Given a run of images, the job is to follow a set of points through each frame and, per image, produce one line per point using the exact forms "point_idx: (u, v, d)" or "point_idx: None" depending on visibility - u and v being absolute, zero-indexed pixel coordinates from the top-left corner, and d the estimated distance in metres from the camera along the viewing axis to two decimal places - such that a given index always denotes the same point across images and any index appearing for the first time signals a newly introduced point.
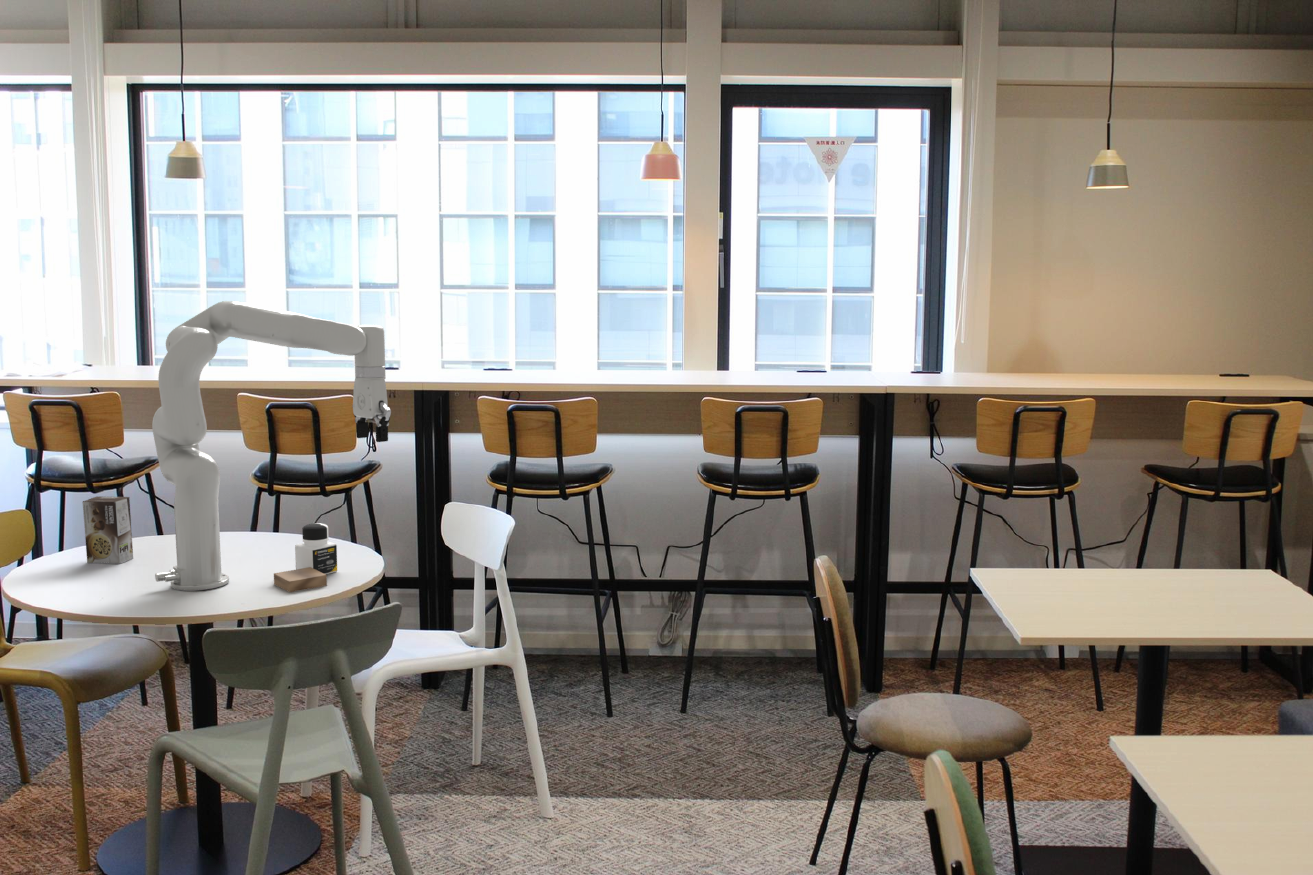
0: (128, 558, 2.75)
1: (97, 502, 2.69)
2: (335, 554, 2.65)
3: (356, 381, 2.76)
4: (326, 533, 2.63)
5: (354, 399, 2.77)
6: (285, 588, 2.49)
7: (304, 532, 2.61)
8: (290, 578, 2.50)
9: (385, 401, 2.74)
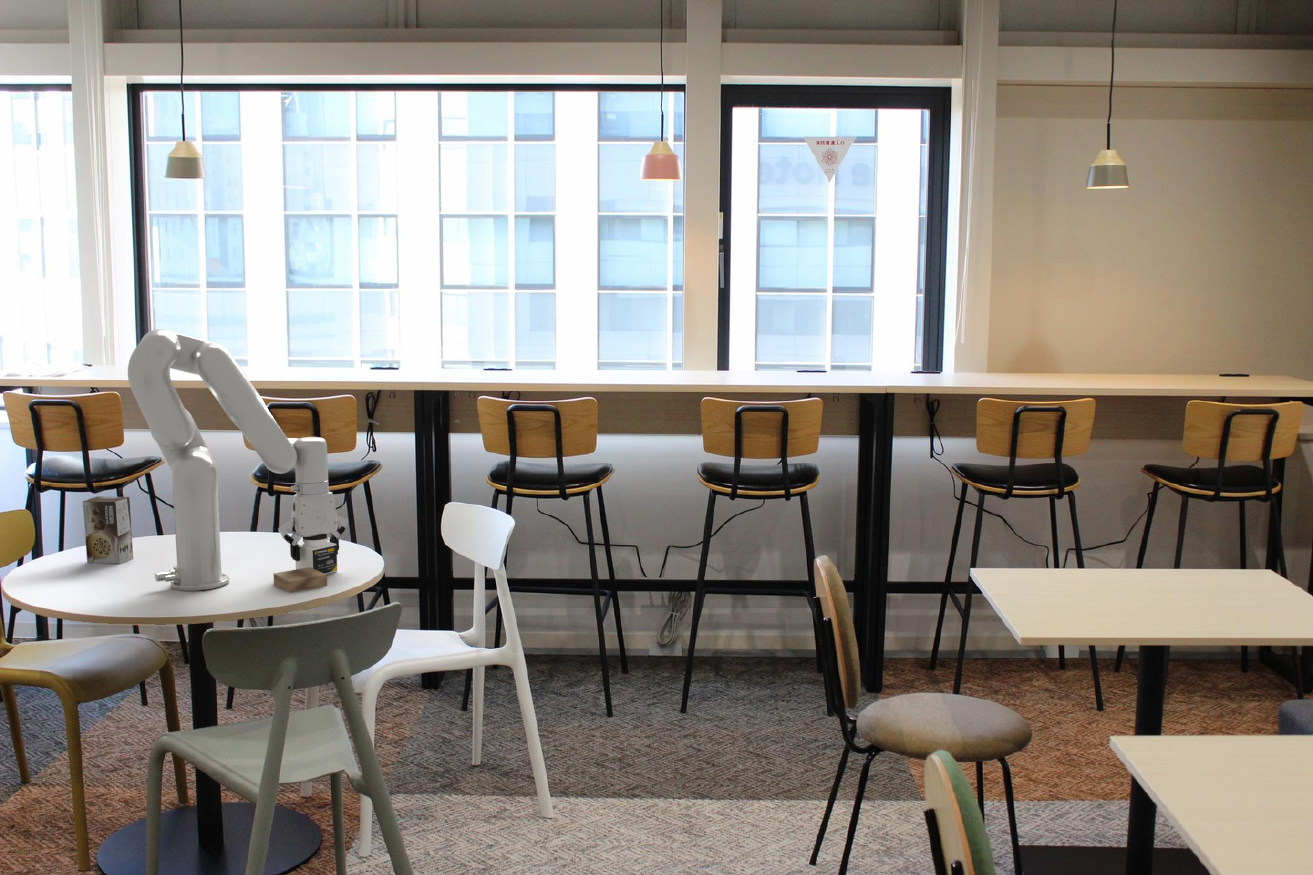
0: (128, 558, 2.75)
1: (97, 502, 2.69)
2: (335, 554, 2.65)
3: (307, 499, 2.58)
4: None
5: (304, 519, 2.58)
6: (285, 588, 2.49)
7: None
8: (290, 578, 2.50)
9: None
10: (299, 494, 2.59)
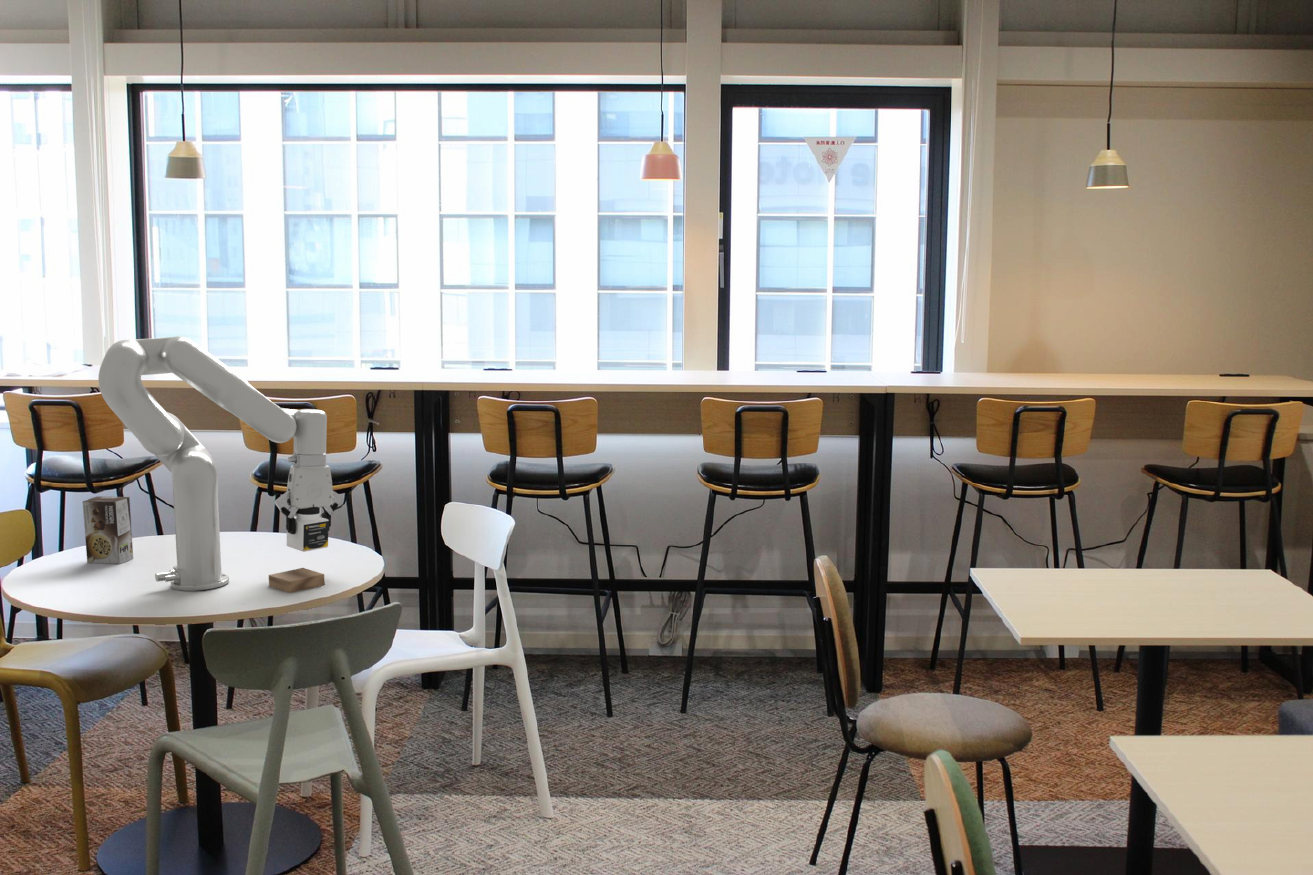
0: (128, 558, 2.75)
1: (97, 502, 2.69)
2: (327, 530, 2.63)
3: (303, 471, 2.57)
4: (319, 508, 2.61)
5: (300, 490, 2.57)
6: (284, 589, 2.49)
7: None
8: (289, 578, 2.49)
9: None
10: (296, 465, 2.58)
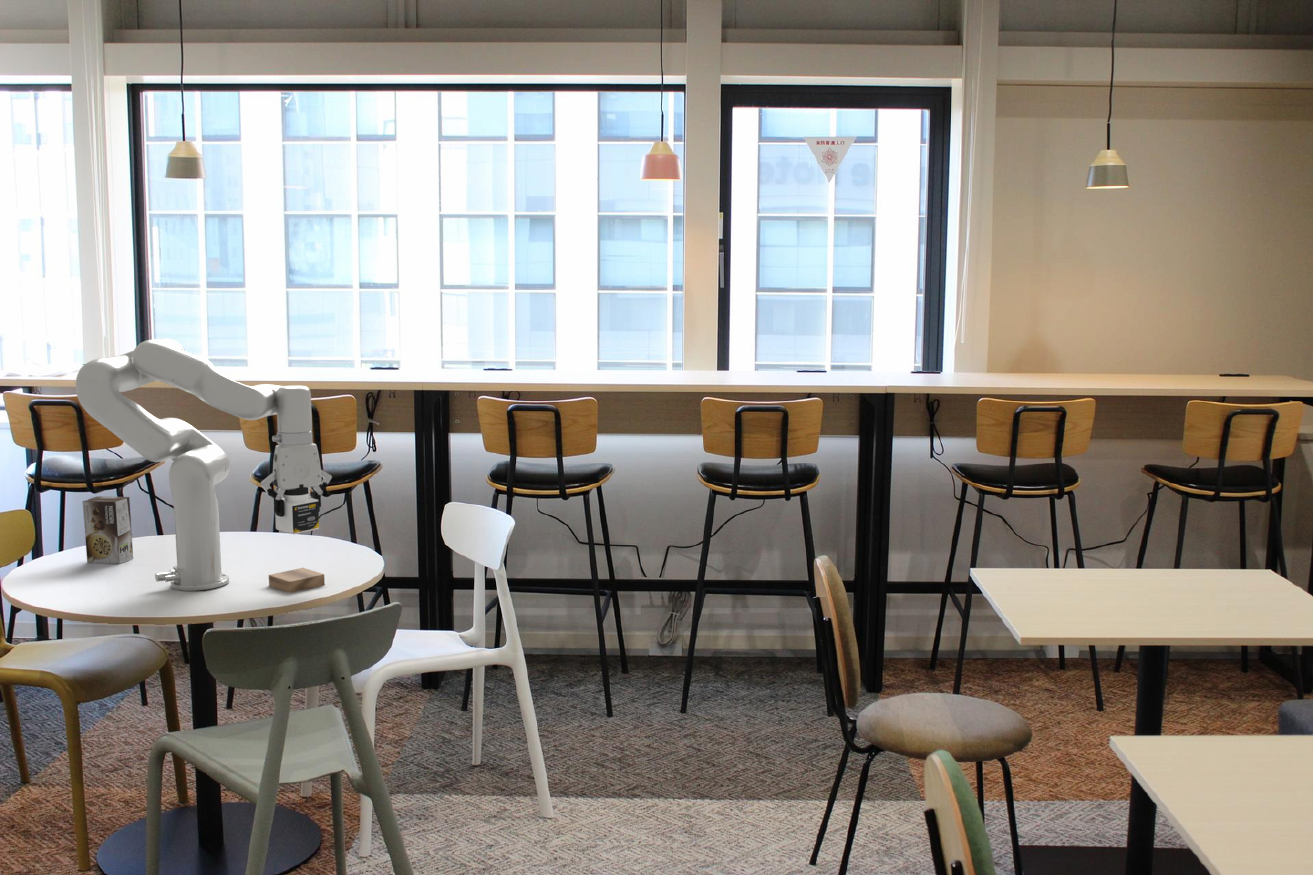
0: (128, 558, 2.75)
1: (97, 502, 2.69)
2: (317, 510, 2.52)
3: (289, 450, 2.46)
4: (307, 488, 2.50)
5: (286, 471, 2.46)
6: (284, 589, 2.49)
7: None
8: (289, 578, 2.49)
9: None
10: (281, 445, 2.46)
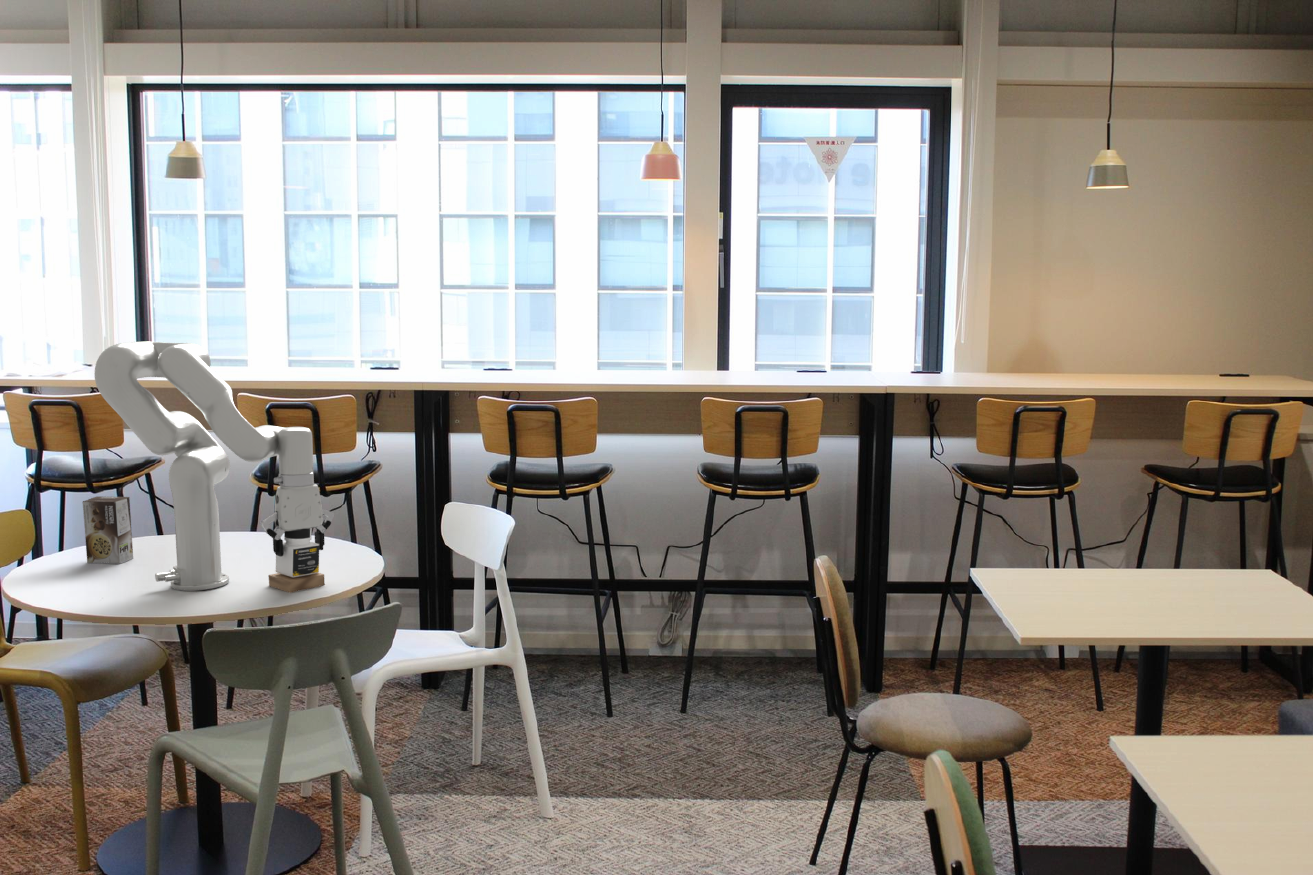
0: (128, 558, 2.75)
1: (97, 502, 2.69)
2: (317, 555, 2.53)
3: (290, 492, 2.47)
4: (309, 532, 2.52)
5: (288, 512, 2.47)
6: (284, 589, 2.49)
7: None
8: (289, 579, 2.49)
9: None
10: (283, 486, 2.48)
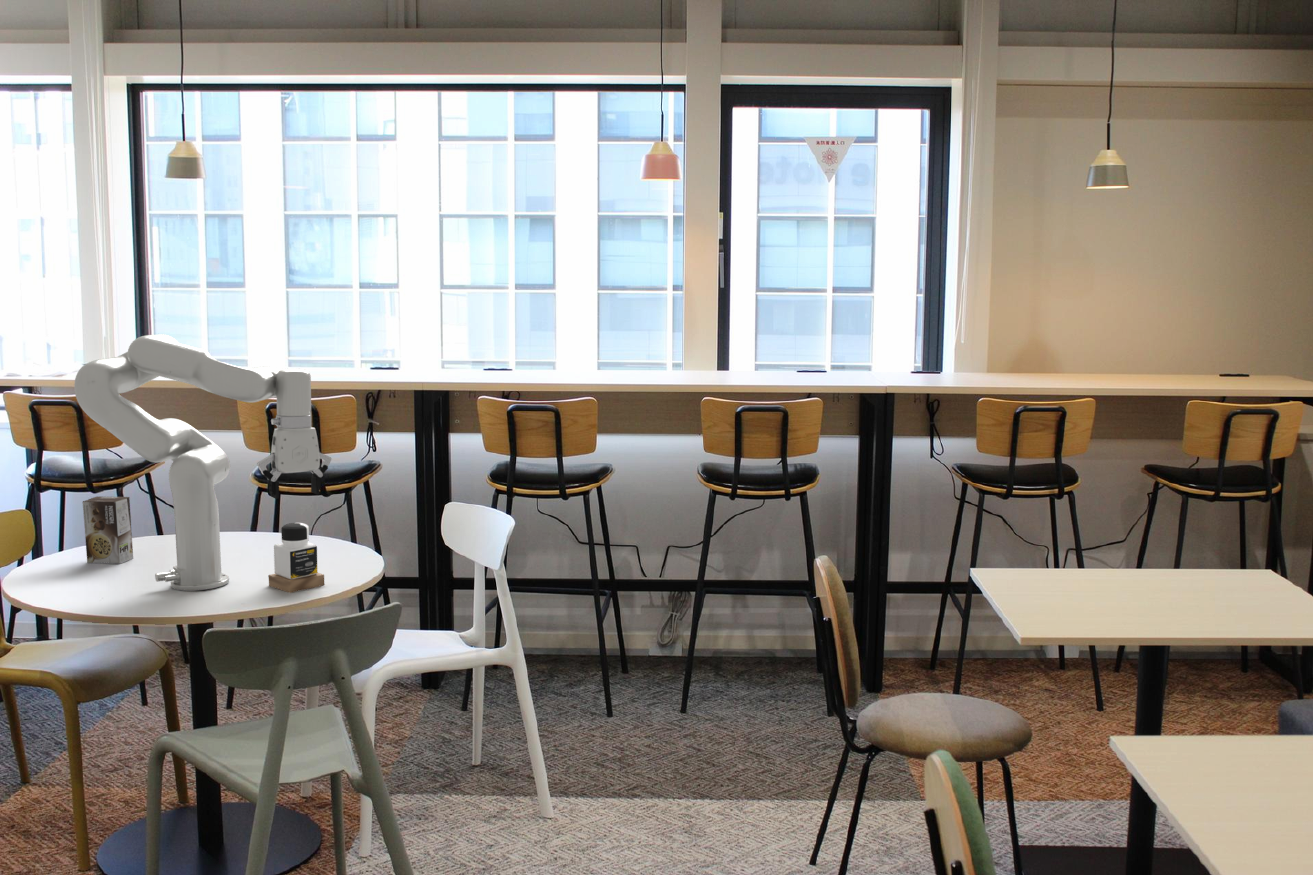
0: (128, 558, 2.75)
1: (97, 502, 2.69)
2: (315, 556, 2.53)
3: (288, 433, 2.46)
4: (306, 534, 2.51)
5: (285, 454, 2.46)
6: (284, 589, 2.49)
7: (282, 532, 2.50)
8: (288, 579, 2.49)
9: None
10: (280, 428, 2.46)
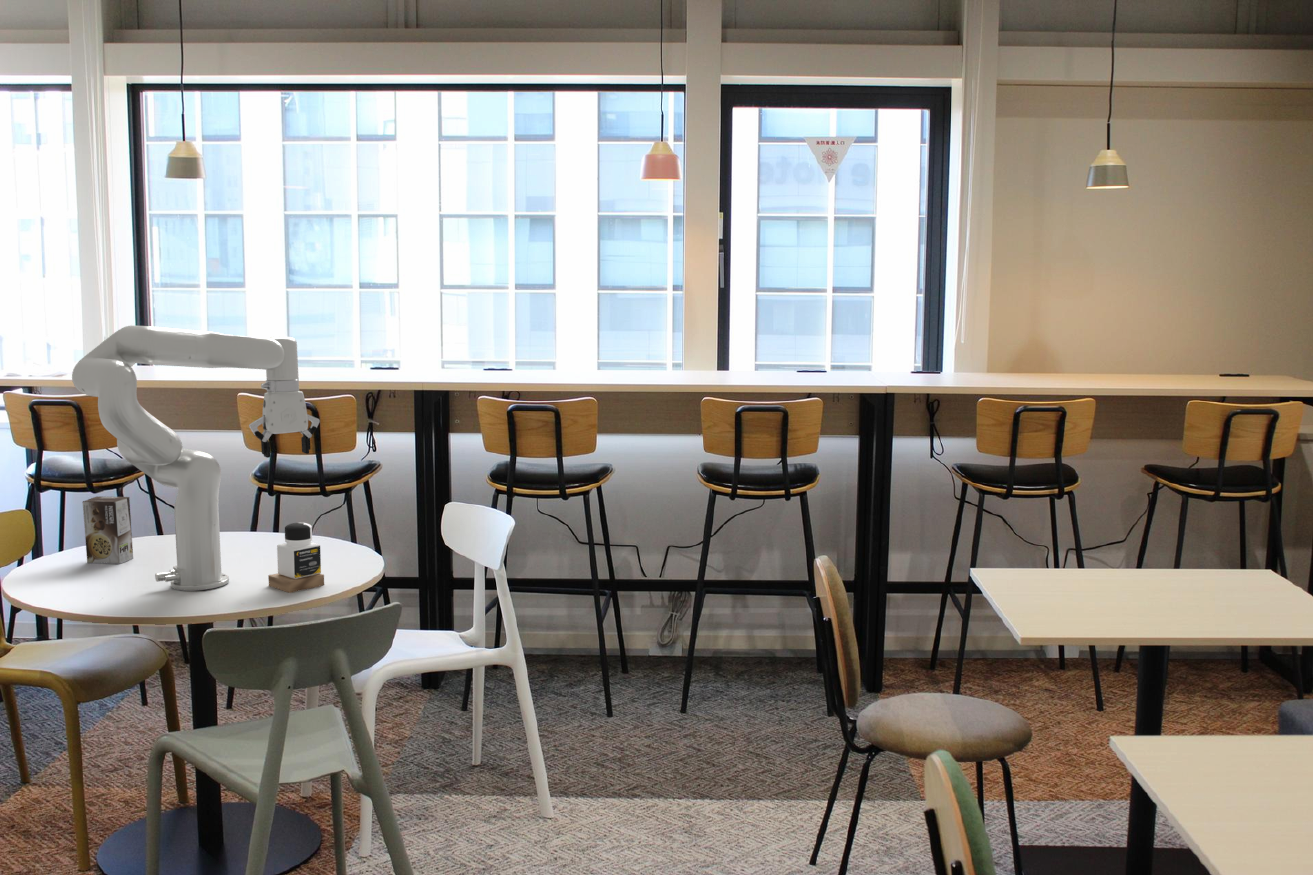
0: (128, 558, 2.75)
1: (97, 502, 2.69)
2: (318, 555, 2.53)
3: (276, 396, 2.64)
4: (309, 533, 2.52)
5: (274, 416, 2.64)
6: (284, 589, 2.49)
7: (286, 531, 2.50)
8: (288, 579, 2.49)
9: None
10: (269, 392, 2.64)
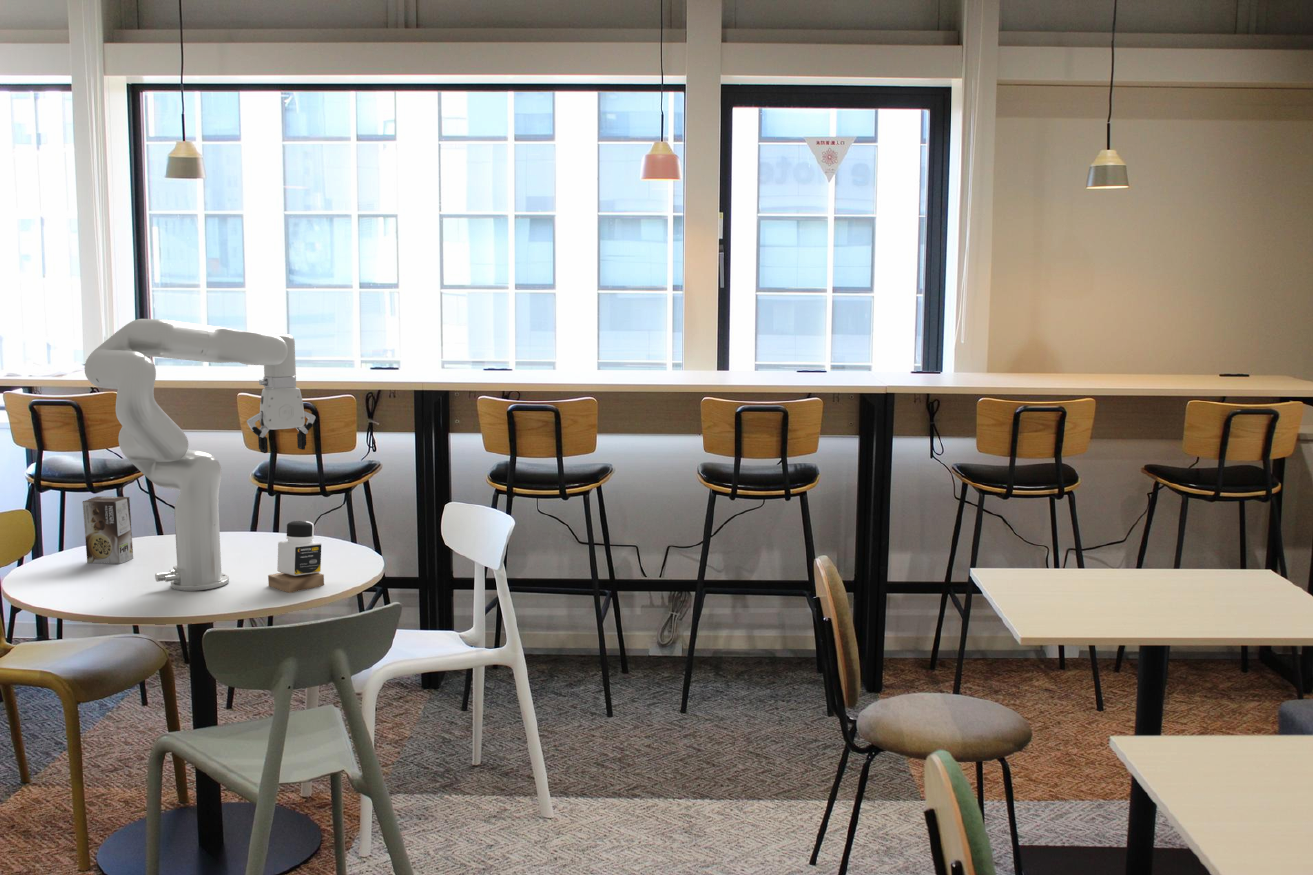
0: (128, 558, 2.75)
1: (97, 502, 2.69)
2: (319, 554, 2.54)
3: (274, 393, 2.68)
4: (311, 531, 2.53)
5: (272, 412, 2.68)
6: (283, 589, 2.49)
7: (288, 528, 2.51)
8: (288, 579, 2.49)
9: None
10: (267, 388, 2.68)
